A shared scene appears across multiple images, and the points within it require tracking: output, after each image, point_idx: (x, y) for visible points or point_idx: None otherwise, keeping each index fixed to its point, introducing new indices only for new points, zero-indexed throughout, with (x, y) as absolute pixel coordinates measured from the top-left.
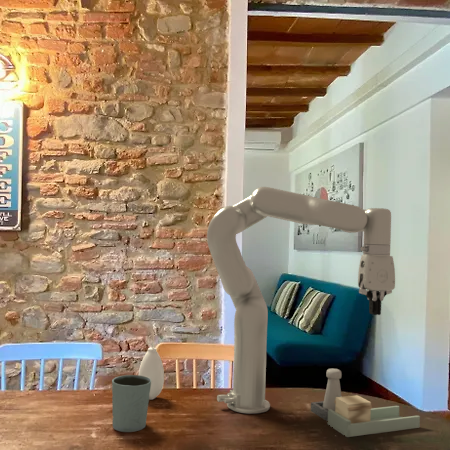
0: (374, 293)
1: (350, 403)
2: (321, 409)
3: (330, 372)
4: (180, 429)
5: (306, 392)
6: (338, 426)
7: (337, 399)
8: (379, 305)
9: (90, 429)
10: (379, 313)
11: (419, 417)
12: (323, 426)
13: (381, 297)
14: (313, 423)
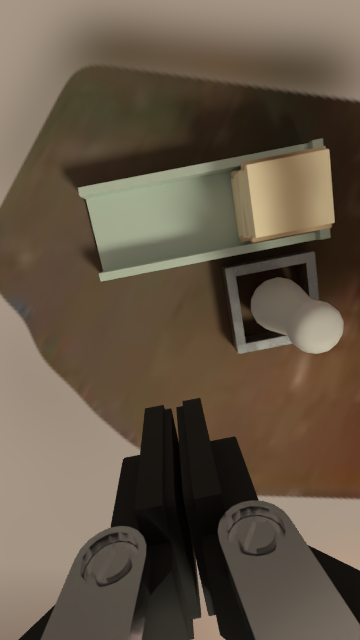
0: (310, 636)
1: (317, 158)
2: (317, 286)
3: (339, 313)
4: None
5: (264, 461)
6: None
7: (332, 211)
8: (162, 461)
9: None
10: (159, 408)
11: (79, 188)
12: None
13: (104, 592)
14: (344, 248)
